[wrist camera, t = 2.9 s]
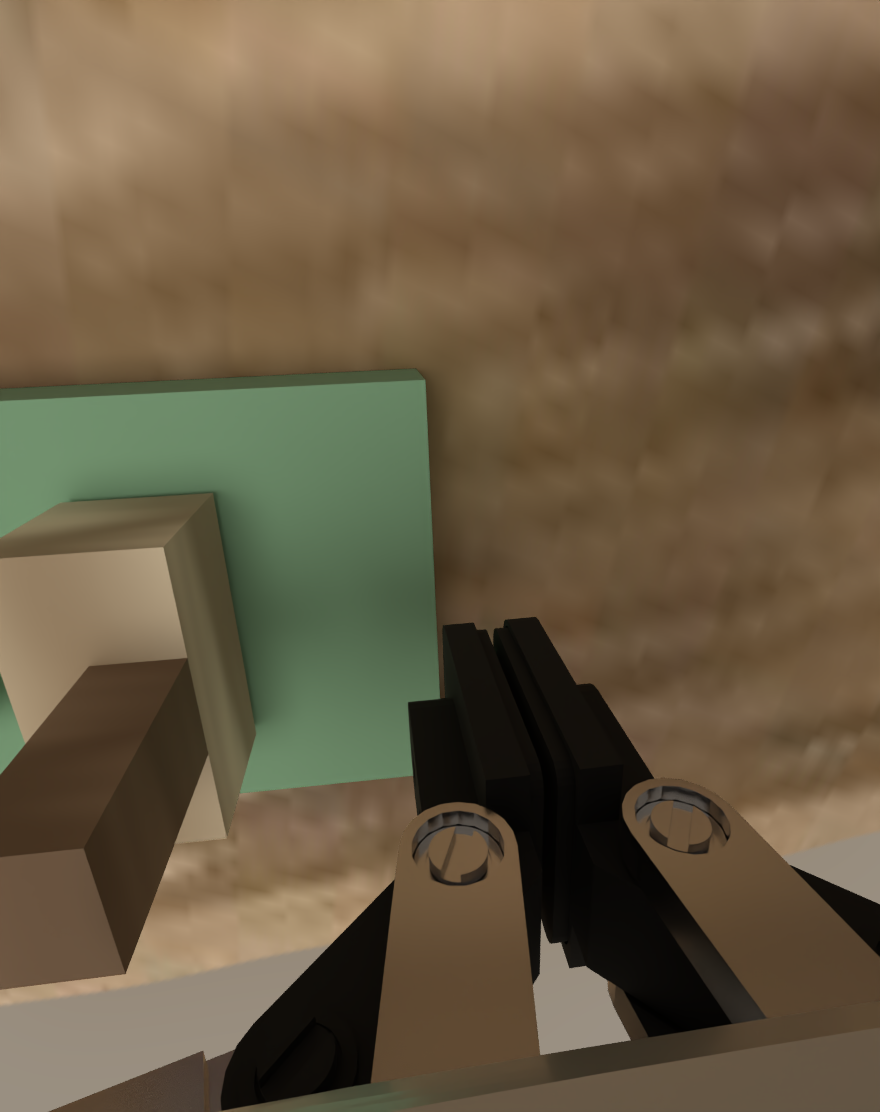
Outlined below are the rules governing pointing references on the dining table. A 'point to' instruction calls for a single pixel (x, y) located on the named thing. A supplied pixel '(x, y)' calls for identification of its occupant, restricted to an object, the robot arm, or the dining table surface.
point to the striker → (112, 723)
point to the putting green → (271, 540)
